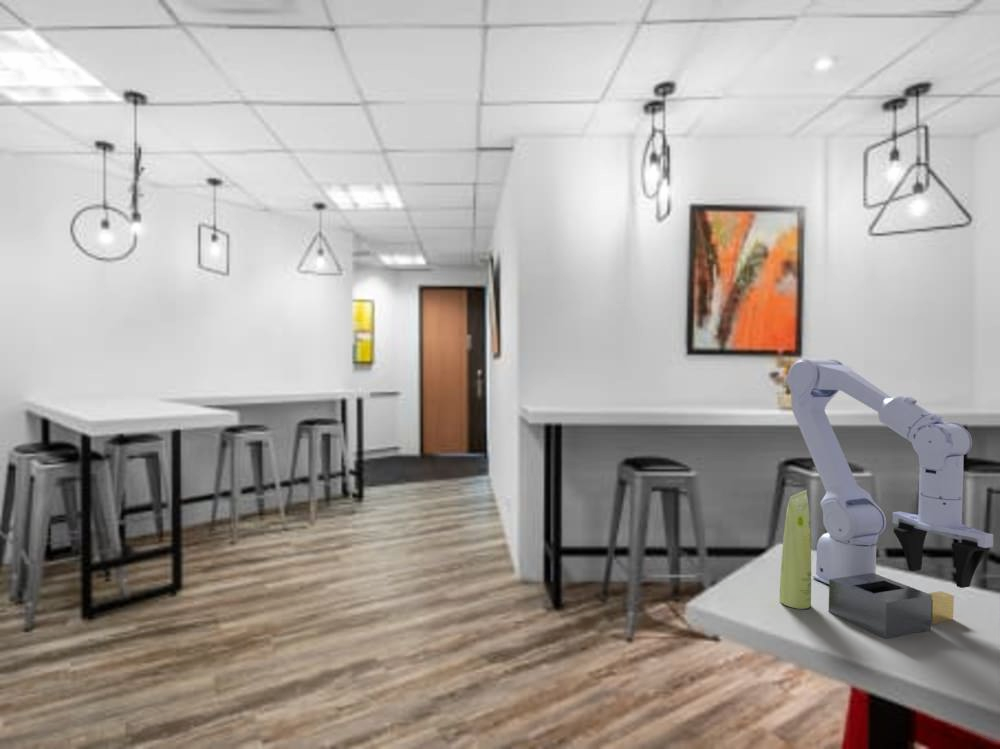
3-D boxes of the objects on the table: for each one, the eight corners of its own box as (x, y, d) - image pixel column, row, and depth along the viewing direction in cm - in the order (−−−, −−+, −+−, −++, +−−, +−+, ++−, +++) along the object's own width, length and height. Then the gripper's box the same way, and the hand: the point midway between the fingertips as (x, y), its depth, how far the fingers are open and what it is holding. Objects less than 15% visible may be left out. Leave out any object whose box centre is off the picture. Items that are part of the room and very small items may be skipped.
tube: (818, 612, 97) (821, 497, 97) (786, 610, 98) (789, 495, 97) (803, 598, 103) (806, 489, 102) (774, 596, 103) (776, 488, 103)
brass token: (919, 618, 95) (920, 594, 95) (940, 614, 97) (941, 591, 97) (931, 623, 94) (932, 599, 94) (953, 619, 95) (953, 595, 95)
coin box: (828, 611, 97) (829, 579, 97) (871, 604, 101) (872, 572, 101) (885, 638, 88) (886, 602, 88) (930, 629, 91) (931, 595, 91)
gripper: (880, 488, 100) (878, 565, 101) (972, 508, 87) (970, 597, 87) (909, 486, 103) (907, 561, 103) (1003, 505, 89) (1000, 592, 89)
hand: (938, 578), depth 95 cm, fingers open, 7 cm apart
